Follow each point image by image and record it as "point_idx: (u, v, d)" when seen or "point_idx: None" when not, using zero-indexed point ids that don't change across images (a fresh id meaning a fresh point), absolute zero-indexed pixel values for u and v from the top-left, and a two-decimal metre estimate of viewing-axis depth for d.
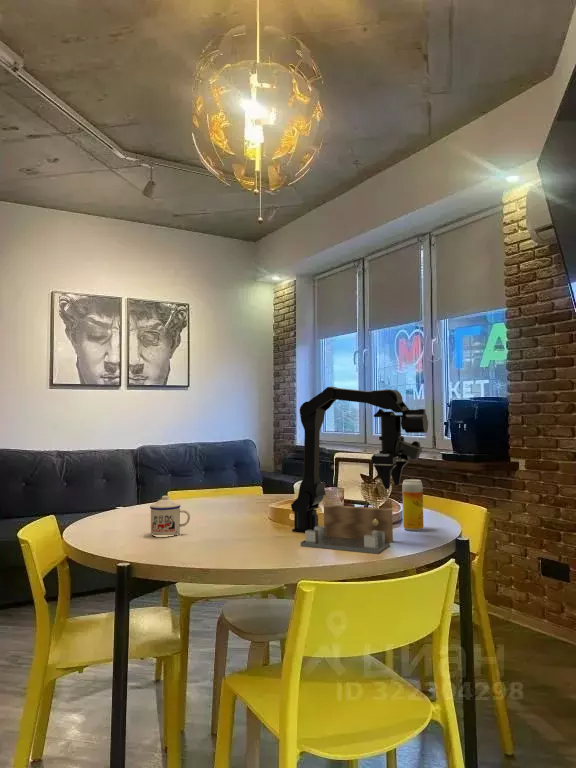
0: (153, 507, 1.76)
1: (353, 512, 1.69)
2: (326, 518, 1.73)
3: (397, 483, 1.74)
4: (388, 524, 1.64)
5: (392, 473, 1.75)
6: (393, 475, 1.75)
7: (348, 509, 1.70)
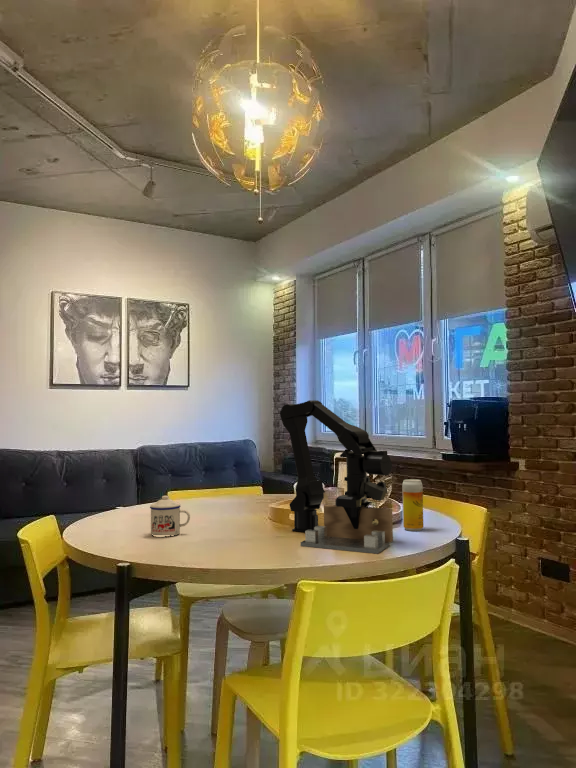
0: (153, 507, 1.76)
1: None
2: (326, 517, 1.73)
3: None
4: (388, 524, 1.64)
5: None
6: None
7: None
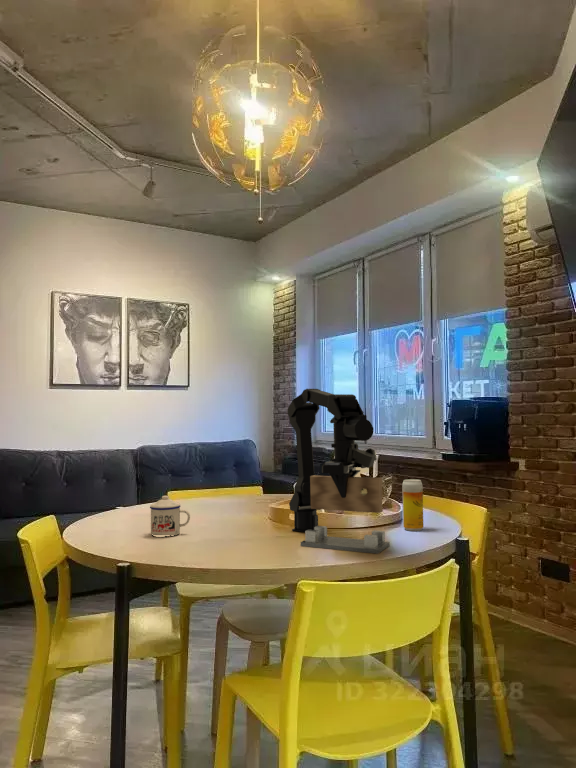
0: (153, 507, 1.76)
1: None
2: (313, 488, 1.65)
3: None
4: (377, 493, 1.56)
5: None
6: None
7: None
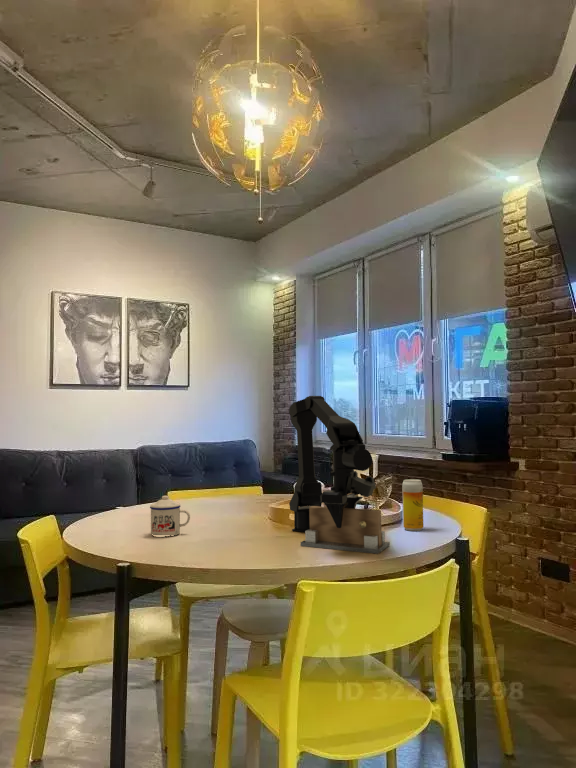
0: (153, 507, 1.76)
1: None
2: (312, 519, 1.64)
3: None
4: (376, 526, 1.55)
5: None
6: None
7: None
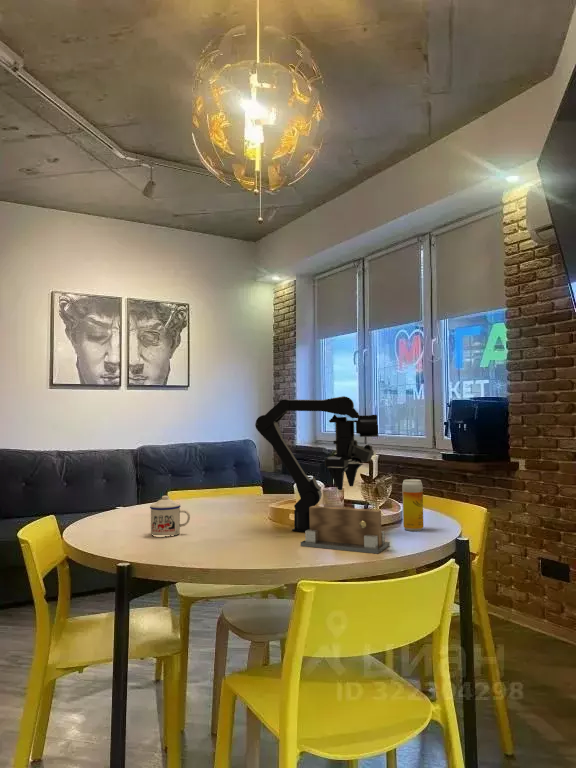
0: (153, 507, 1.76)
1: (340, 513, 1.60)
2: (312, 519, 1.64)
3: (351, 484, 1.85)
4: (376, 526, 1.55)
5: (347, 475, 1.86)
6: (348, 477, 1.86)
7: (335, 510, 1.61)
